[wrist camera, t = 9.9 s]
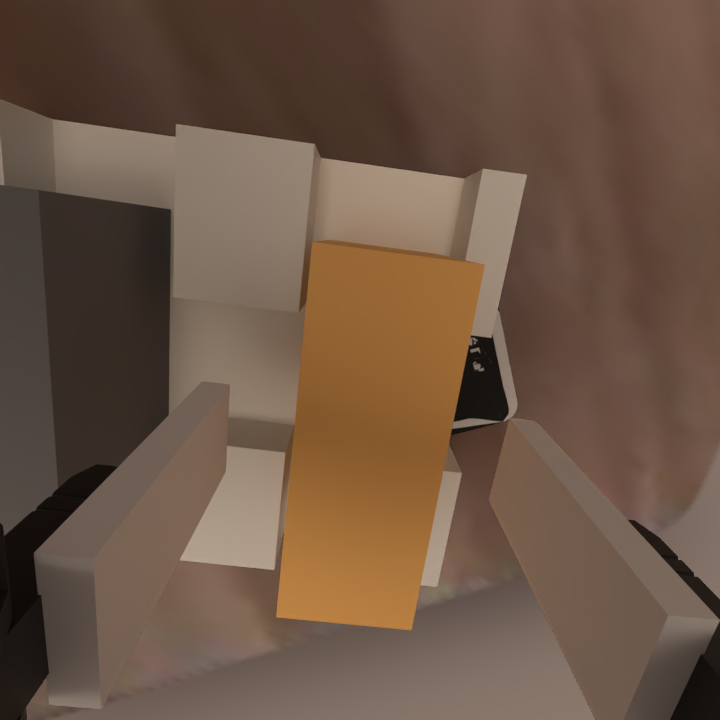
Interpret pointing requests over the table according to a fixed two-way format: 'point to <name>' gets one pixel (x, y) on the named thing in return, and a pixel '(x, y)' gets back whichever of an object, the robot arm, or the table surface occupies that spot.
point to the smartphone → (485, 383)
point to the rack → (263, 277)
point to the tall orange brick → (372, 428)
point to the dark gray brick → (78, 338)
